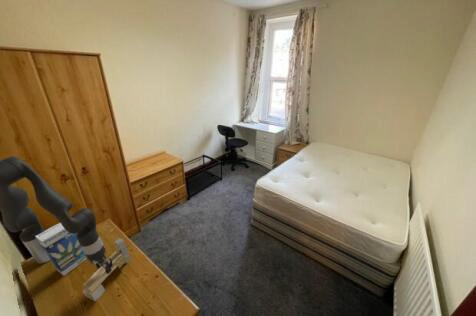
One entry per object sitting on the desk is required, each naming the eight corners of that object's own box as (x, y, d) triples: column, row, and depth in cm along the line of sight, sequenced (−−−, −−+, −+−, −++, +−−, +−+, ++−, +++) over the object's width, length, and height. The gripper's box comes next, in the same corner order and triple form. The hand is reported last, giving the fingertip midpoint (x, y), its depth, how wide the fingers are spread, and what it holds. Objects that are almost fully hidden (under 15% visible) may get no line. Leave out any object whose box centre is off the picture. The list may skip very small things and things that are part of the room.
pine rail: (86, 289, 91) (83, 284, 90) (118, 256, 107) (116, 251, 105) (92, 292, 90) (89, 287, 88) (123, 258, 105) (121, 253, 104)
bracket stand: (86, 296, 93) (72, 276, 86) (124, 256, 112) (116, 236, 105) (96, 301, 91) (83, 281, 84) (133, 260, 110) (125, 240, 103)
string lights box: (63, 276, 102) (40, 242, 91) (56, 269, 105) (33, 236, 94) (90, 256, 113) (73, 223, 101) (83, 250, 116) (65, 218, 104)
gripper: (74, 249, 89) (87, 272, 96) (97, 258, 84) (109, 282, 92) (90, 236, 95) (101, 259, 103) (112, 244, 91) (122, 267, 98)
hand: (105, 270), depth 97 cm, fingers open, 5 cm apart
